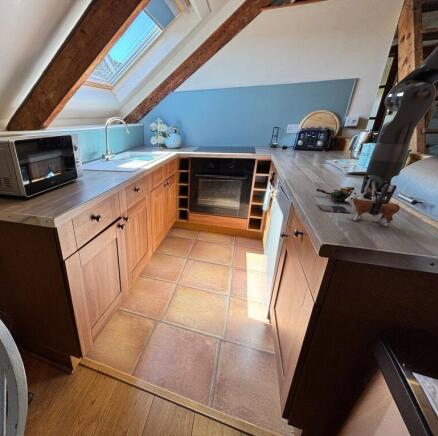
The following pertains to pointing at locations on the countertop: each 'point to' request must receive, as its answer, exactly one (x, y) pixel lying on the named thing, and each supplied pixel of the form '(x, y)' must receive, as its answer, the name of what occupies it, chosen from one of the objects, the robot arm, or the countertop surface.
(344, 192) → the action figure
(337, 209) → the slate coaster
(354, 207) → the bull figurine
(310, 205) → the countertop surface
